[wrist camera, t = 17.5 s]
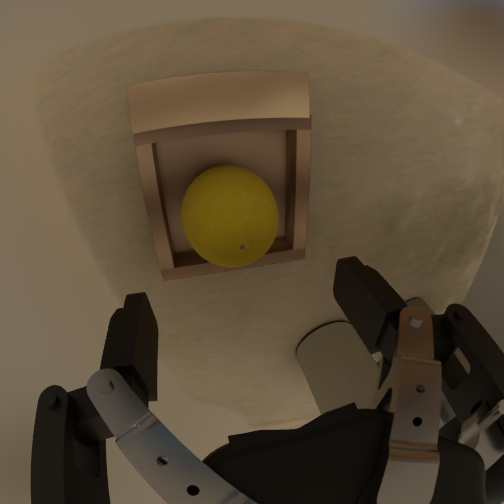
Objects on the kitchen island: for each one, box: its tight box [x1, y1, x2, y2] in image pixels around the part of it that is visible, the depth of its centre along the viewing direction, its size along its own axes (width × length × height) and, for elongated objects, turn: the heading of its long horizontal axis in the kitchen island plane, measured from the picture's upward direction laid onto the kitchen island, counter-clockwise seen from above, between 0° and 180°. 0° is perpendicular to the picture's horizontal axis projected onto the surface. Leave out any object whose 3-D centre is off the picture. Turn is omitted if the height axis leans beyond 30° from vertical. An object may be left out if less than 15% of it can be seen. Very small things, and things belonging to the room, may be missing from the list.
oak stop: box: [127, 71, 309, 134], centre depth 13 cm, size 2×9×5 cm, turn 92°
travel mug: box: [297, 322, 379, 415], centre depth 25 cm, size 8×8×18 cm
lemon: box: [181, 165, 279, 268], centre depth 16 cm, size 6×6×8 cm
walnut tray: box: [134, 115, 311, 281], centre depth 19 cm, size 11×11×3 cm
